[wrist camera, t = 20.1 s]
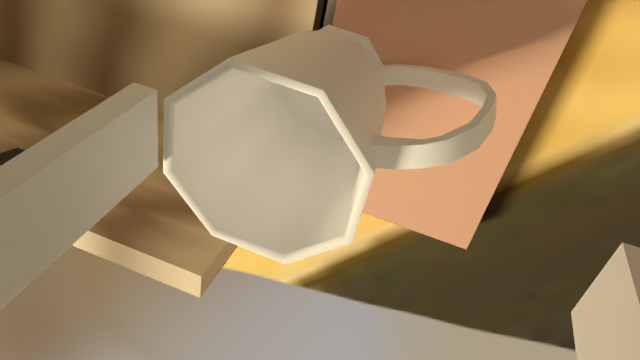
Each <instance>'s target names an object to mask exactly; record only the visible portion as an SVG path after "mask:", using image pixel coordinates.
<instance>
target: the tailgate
mask: <svg viewBox="0 0 640 360" xmlns="http://www.w3.org/2000/svg"><path fill="white" fill-rule="evenodd" d="M586 3H587V0H328V3H327V8H326V14H325V19H324V24H323V27H325V26H327V25H332V26H335V27H338V28H341V29H344V30H348V31H351V32H354V33H357V34H360V35H363V36H367V37H368V38H369V40H370V42H371V43H372V45H373V47H374V49H375V50H376V52H377V54H378V56H379V58H380V59H381V61H382V63H383V65H392V64H406V65H416V66H426V67H432V68H437V69H442V70H447V71H452V72H456V73H461V74H465V75H470V76H472V77H475V78H477V79H480V80H482V81H485V82H487V83H489V85H490V86H491V88H492V89H493V90H494V92H495V93H496V119H495V123H494V126H493V129H492V132H491V133H490V134H489V135H488V137H487V138H486V139H485V141H484V142H483V143H482V145H481V146H480V147H479V148H478V149H477V150H475V151H473V152H471V153H469V154H467V155H465V156H463V157H461V158H459V159H458V160H456V161H454V162H452V163H450V164H445V165H440V166H435V167H429V168H420V169H399V170H391V169H380V168H376V169H375V174H374V177H373V181H372V184H371V187H370V190H369V193H368V196H367V199H366V202H365V205H364V208H363V211H362V212H363V213H366V214H368V215H371V216H374V217H377V218H380V219H382V220H385V221H388V222H391V223H394V224H396V225H399V226H402V227H405V228H408V229H410V230H413V231H416V232H419V233H422V234H425V235H427V236H430V237H433V238H436V239H439V240H441V241H444V242H447V243H450V244H453V245H455V246H458V247H461V248H464V249H467V247H468V245H469V243H470V241H471V239H472V237H473V235H474V233H475V230H476V228H477V226H478V224H479V222H480V220H481V218H482V216H483V214H484V212H485V210H486V208H487V206H488V204H489V202H490V200H491V198H492V196H493V194H494V191H495V189H496V187H497V185H498V183H499V181H500V179H501V177H502V175H503V173H504V171H505V169H506V167H507V165H508V163H509V161H510V159H511V157H512V154H513V152H514V150H515V148H516V146H517V144H518V142H519V140H520V138H521V136H522V134H523V132H524V130H525V128H526V126H527V124H528V122H529V120H530V118H531V115H532V113H533V111H534V109H535V107H536V105H537V103H538V101H539V99H540V97H541V95H542V93H543V91H544V89H545V87H546V85H547V83H548V81H549V79H550V76H551V74H552V72H553V70H554V68H555V66H556V64H557V62H558V60H559V58H560V56H561V54H562V52H563V50H564V48H565V46H566V44H567V42H568V39H569V37H570V35H571V33H572V31H573V29H574V27H575V25H576V23H577V21H578V19H579V17H580V15H581V13H582V11H583V9H584V7H585V5H586ZM385 96H386V110H385V115H384V120H383V126H382V131H381V136H385V137H395V138H412V139H427V138H432V137H438V136H442V135H444V134H446V133H448V132H450V131H452V130H454V129H457V128H459V127H461V126H463V125H465V124H467V123H469V122H470V121H471V120H472V119H473V118H474V117H475V115H476V114H477V113H478V112H479V111H480V109H481V106H480V105H478V104H476V103H473V102H471V101H468V100H466V99H463V98H461V97H457V96H454V95H450V94H446V93H442V92H438V91H434V90H430V89H426V88H421V87H413V86H406V85H387V86H385Z"/></svg>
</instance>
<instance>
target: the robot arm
mask: <svg viewBox="0 0 640 360" xmlns="http://www.w3.org/2000/svg"><path fill="white" fill-rule="evenodd" d="M157 167H158V109H157V90H156V89H153V88H150V87H147V86H144V85H141V84H138V83H134V82H133V83H132V84H130V85H129V86H127V87H125V88H124V89H122V90H121V91H119V92H118V93H116V94H114V95H113V96H111V97H110V98H108V99H106V100H105V101H103V102H102V103H100V104H98V105H97V106H95V107H94V108H92V109H90V110H89V111H87V112H86V113H84V114H82V115H81V116H79V117H78V118H76V119H74V120H73V121H71V122H70V123H68V124H67V125H65V126H63V127H62V128H60V129H59V130H57V131H55V132H54V133H52V134H51V135H49V136H47V137H46V138H44V139H43V140H41V141H39V142H38V143H36V144H35V145H33V146H31V147H30V148H28V149H27V150H23V149H20V148H15V149H11V150H8V151H5V152H2V153H0V310H1V309H2V308H3V307H4V306H6V305H7V304H8V303H9V302H10V301H11V300H12V299H13V298H15V297H16V296H17V295H18V294H19V293H20V292H21V291H22V290H23V289H24V288H26V286H28V285H29V284H30V283H31V282H32V281H33V280H34V279H35V278H37V277H38V276H39V275H40V274H41V273H42V272H43V271H44V270H45V269H46V268H47V267H49V266H50V265H51V264H52V263H53V262H54V261H55V260H56V259H57V258H58V257H60V255H62V254H63V253H64V252H65V251H66V250H67V249H68V248H70V247H71V246H72V245H73V244H74V243H75V242H76V241H77V240H78V239H79V238H80V237H82V236H83V235H84V234H85V233H86V232H87V231H88V230H89V229H90V228H91V227H93V226H94V225H95V224H96V223H97V222H98V221H99V220H100V219H101V218H102V217H104V216H105V215H106V214H107V213H108V212H109V211H110V210H111V209H112V208H113V207H115V206H116V205H117V204H118V203H119V202H120V201H121V200H122V199H123V198H124V197H126V196H127V195H128V194H129V193H130V192H131V191H132V190H133V189H134V188H135V187H137V186H138V185H139V184H140V183H141V182H142V181H143V180H144V179H145V178H146V177H148V176H149V175H150V174H151V173H152V172H153V171H154V170H155V169H156V168H157ZM571 316H572V324H573V332H574V340H575V348H576V355H577V360H640V248H638V247H635V246H632V245H629V244H626V243H623V242H622V244H621V245H620V246H619V248H618V249H617V250H616V252H615V253H614V254H613V256H612V257H611V259H610V260H609V261H608V263H607V264H606V265H605V267H604V268H603V269H602V271H601V272H600V274H599V275H598V276H597V278H596V279H595V280H594V282H593V283H592V284H591V286H590V287H589V288H588V290H587V291H586V293H585V294H584V295H583V297H582V298H581V299H580V301H579V302H578V303H577V305H576V306H575V308H574V309H573V310H572V312H571Z"/></svg>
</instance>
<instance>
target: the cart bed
mask: <svg viewBox="0 0 640 360" xmlns="http://www.w3.org/2000/svg"><path fill="white" fill-rule="evenodd" d="M323 5H324V0H0V153H2V152H5V151H8V150H11V149H15V148H20V149H23V150H27V149H28V148H30V147H31V146H33V145H35V144H36V143H38V142H39V141H41V140H43V139H44V138H46V137H47V136H49V135H51V134H52V133H54V132H55V131H57V130H59V129H60V128H62V127H63V126H65V125H67V124H68V123H70V122H71V121H73V120H74V119H76V118H78V117H79V116H81V115H82V114H84V113H86V112H87V111H89V110H90V109H92V108H94V107H95V106H97V105H98V104H100V103H102V102H103V101H105V100H106V99H108V98H110V97H111V96H113V95H114V94H116V93H118V92H119V91H121V90H122V89H124V88H125V87H127V86H129V85H130V84H132V83H133V82H134V83H138V84H141V85H144V86H147V87H150V88H153V89H156V90H157V109H158V167H157V168H156V169H155V170H154V171H153V172H152V173H151V174H150V175H149V176H148V177H146V178H145V179H144V180H143V181H142V182H141V183H140V184H139V185H138V186H137V187H135V188H134V189H133V190H132V191H131V192H130V193H129V194H128V195H127V196H126V197H124V198H123V199H122V200H121V201H120V202H119V203H118V204H117V205H116V206H115V207H113V208H112V209H111V210H110V211H109V212H108V213H107V214H106V215H105V216H104V217H102V218H101V219H100V220H99V221H98V222H97V223H96V224H95V225H94V226H93V227H91V228H90V229H89V230H88V231H87V232H86V233H85V234H84V235H83V236H82V237H80V238H79V239H78V240H77V241H76V242H75V243H74V244H73V246H75V247H77V248H80V249H82V250H85V251H87V252H90V253H92V254H94V255H97V256H99V257H102V258H104V259H107V260H109V261H111V262H114V263H116V264H119V265H121V266H124V267H126V268H129V269H131V270H133V271H136V272H138V273H141V274H143V275H146V276H148V277H151V278H153V279H155V280H158V281H160V282H163V283H165V284H168V285H170V286H172V287H175V288H177V289H180V290H182V291H185V292H187V293H190V294H192V295H194V296H197V297H199V298H200V297H201V296H202V295H203V293H204V292H205V290H206V289H207V288H208V286H209V285H210V284H211V282H212V281H213V279H214V278H215V276H216V275H217V274H218V273H219V271H220V270H221V268H222V267H223V266H224V264H225V263H226V261H227V260H228V259H229V257H230V256H231V255H232V253H233V252H234V250H235V249H236V248H237V245H235V244H232V243H230V242H227V241H225V240H222V239H219V238H217V237H214V236H212V235H211V234H210V232H209V231H208V230H207V228H206V227H205V226H204V225H203V223H202V222H201V221H200V219H199V218H198V217H197V216H196V214H195V213H194V212H193V210H192V209H191V208H190V207H189V205H188V204H187V203H186V201H185V200H184V199H183V197H182V196H181V195H180V194H179V192H178V191H177V190H176V188H175V187H174V186H173V185H172V183H171V182H170V181H169V179H168V178H167V177H166V175H165V174H164V173H163V127H164V98H166V97H168V96H169V95H171V94H172V93H174V92H176V91H177V90H179V89H180V88H182V87H183V86H185V85H187V84H188V83H190V82H191V81H193V80H195V79H196V78H198V77H199V76H201V75H203V74H204V73H206V72H207V71H209V70H210V69H212V68H214V67H215V66H217V65H218V64H220V63H222V62H223V61H225V60H226V59H228V58H230V57H233V56H235V55H238V54H241V53H243V52H246V51H248V50H251V49H254V48H257V47H260V46H263V45H266V44H269V43H271V42H274V41H276V40H279V39H282V38H284V37H287V36H289V35H292V34H294V33H297V32H308V31H318V30H319V27H320V21H321V16H322V10H323Z"/></svg>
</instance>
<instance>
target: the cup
mask: <svg viewBox="0 0 640 360" xmlns="http://www.w3.org/2000/svg"><path fill="white" fill-rule="evenodd" d="M387 85H406V86H413V87H421V88H426V89H430V90H434V91H438V92H442V93H446V94H450V95H454V96H457V97H461V98H463V99H466V100H468V101H471V102H473V103H476V104H478V105H480V106H481V109H480V111H479V112H478V113H477V114H476V115H475V117H474V118H473V119H472V120H471V121H470V122H469V123H467V124H465V125H463V126H461V127H459V128H457V129H454V130H452V131H450V132H448V133H446V134H444V135H442V136H438V137H432V138H427V139H412V138H395V137H385V136H381V131H382V126H383V120H384V115H385V110H386V96H385V86H387ZM495 119H496V93H495V92H494V90H493V89H492V88H491V86H490V85H489V83H487V82H485V81H482V80H480V79H477V78H475V77H472V76H470V75H465V74H461V73H456V72H452V71H447V70H442V69H437V68H432V67H426V66H416V65H406V64H392V65H383V63H382V61H381V59H380V58H379V56H378V54H377V52H376V50H375V49H374V47H373V45H372V43H371V42H370V40H369V38H368V37H367V36H363V35H360V34H357V33H354V32H351V31H348V30H344V29H341V28H338V27H335V26H332V25H327V26H325V27H323V28H322V29H320V30H318V31H308V32H297V33H294V34H292V35H289V36H287V37H284V38H282V39H279V40H276V41H274V42H271V43H269V44H266V45H263V46H260V47H257V48H254V49H251V50H248V51H246V52H243V53H241V54H238V55H235V56H233V57H230V58H228V59H226V60H225V61H223V62H222V63H220V64H218V65H217V66H215V67H214V68H212V69H210V70H209V71H207V72H206V73H204V74H203V75H201V76H199V77H198V78H196V79H195V80H193V81H191V82H190V83H188V84H187V85H185V86H183V87H182V88H180V89H179V90H177V91H176V92H174V93H172V94H171V95H169V96H168V97H166V98H164V127H163V173H164V174H165V175H166V177H167V178H168V179H169V181H170V182H171V183H172V185H173V186H174V187H175V188H176V190H177V191H178V192H179V194H180V195H181V196H182V197H183V199H184V200H185V201H186V203H187V204H188V205H189V207H190V208H191V209H192V210H193V212H194V213H195V214H196V216H197V217H198V218H199V219H200V221H201V222H202V223H203V225H204V226H205V227H206V228H207V230H208V231H209V232H210V234H211V235H212V236H214V237H217V238H219V239H222V240H225V241H227V242H230V243H232V244H235V245H237V246H240V247H242V248H245V249H247V250H250V251H252V252H255V253H257V254H260V255H263V256H265V257H268V258H270V259H273V260H275V261H278V262H280V263H283V264H288V263H291V262H294V261H297V260H301V259H304V258H307V257H311V256H314V255H317V254H321V253H324V252H327V251H331V250H334V249H337V248H340V247H344V246H347V245H350V244H352V242H353V239H354V236H355V233H356V230H357V227H358V224H359V221H360V218H361V215H362V211H363V208H364V205H365V202H366V199H367V196H368V193H369V190H370V187H371V184H372V181H373V177H374V174H375V169H376V168H380V169H391V170H399V169H420V168H429V167H435V166H440V165H445V164H450V163H452V162H454V161H456V160H458V159H459V158H461V157H463V156H465V155H467V154H469V153H471V152H473V151H475V150H477V149H478V148H479V147H480V146H481V145H482V143H483V142H484V141H485V139H486V138H487V137H488V135H489V134H490V133H491V132H492V129H493V126H494V123H495Z"/></svg>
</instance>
